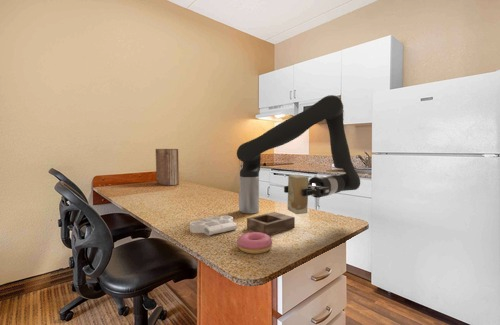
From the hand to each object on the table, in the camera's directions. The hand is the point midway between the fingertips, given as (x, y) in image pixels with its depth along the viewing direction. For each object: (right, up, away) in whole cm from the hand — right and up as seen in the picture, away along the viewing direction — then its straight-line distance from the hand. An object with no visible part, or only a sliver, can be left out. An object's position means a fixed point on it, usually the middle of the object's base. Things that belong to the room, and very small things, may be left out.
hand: (293, 191), depth 84 cm
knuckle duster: (-28, -17, +15) cm, 36 cm away
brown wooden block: (-85, -9, +135) cm, 160 cm away
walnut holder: (-6, -16, +15) cm, 23 cm away
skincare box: (+2, -7, +2) cm, 8 cm away
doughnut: (-13, -18, -4) cm, 22 cm away
